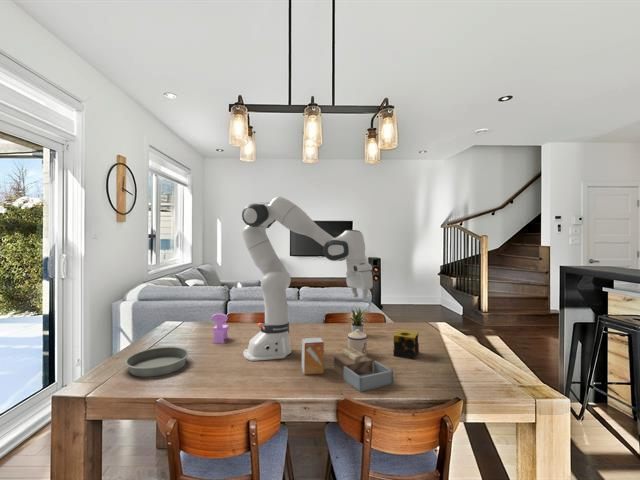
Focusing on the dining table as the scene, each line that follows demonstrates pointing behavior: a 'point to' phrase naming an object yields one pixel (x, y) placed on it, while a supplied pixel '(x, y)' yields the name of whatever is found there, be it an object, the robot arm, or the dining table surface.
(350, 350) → the rear tile
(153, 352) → the cake pan
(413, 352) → the candle
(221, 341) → the toy chair
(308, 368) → the small box
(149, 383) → the dining table surface
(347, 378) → the tray
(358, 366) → the brown and beige block
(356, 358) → the front tile
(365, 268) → the robot arm
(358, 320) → the house plant
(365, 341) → the teacup with lid
